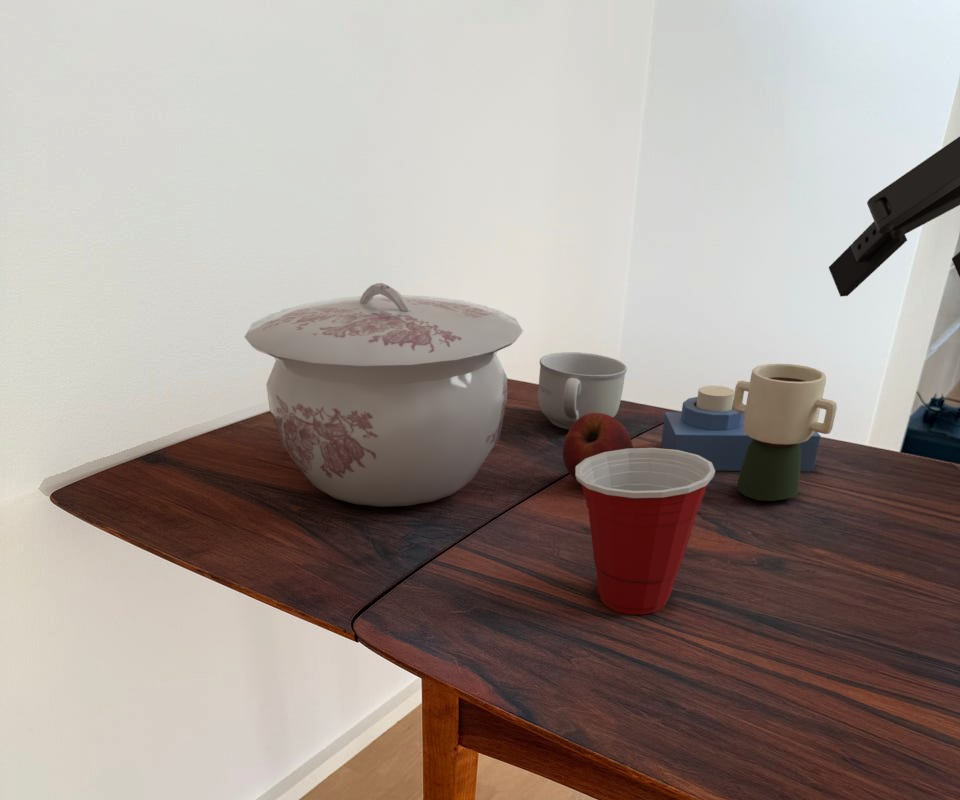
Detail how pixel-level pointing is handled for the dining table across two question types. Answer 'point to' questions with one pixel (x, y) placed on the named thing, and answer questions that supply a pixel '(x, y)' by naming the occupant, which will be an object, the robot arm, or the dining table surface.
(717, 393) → the button
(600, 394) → the teacup
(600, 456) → the plastic cup
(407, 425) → the chamber pot
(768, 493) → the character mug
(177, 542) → the dining table surface
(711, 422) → the blue rectangular block
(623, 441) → the apple
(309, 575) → the dining table surface
